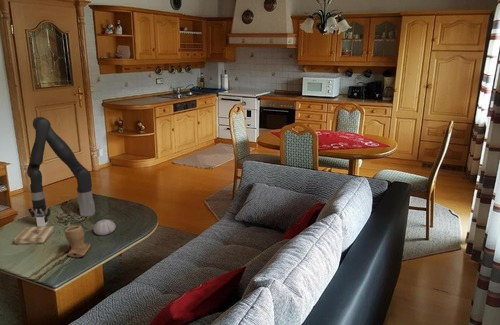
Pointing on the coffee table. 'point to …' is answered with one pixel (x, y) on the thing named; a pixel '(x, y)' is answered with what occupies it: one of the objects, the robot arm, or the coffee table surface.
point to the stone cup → (76, 241)
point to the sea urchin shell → (104, 227)
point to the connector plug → (40, 220)
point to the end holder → (34, 235)
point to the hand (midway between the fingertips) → (41, 222)
